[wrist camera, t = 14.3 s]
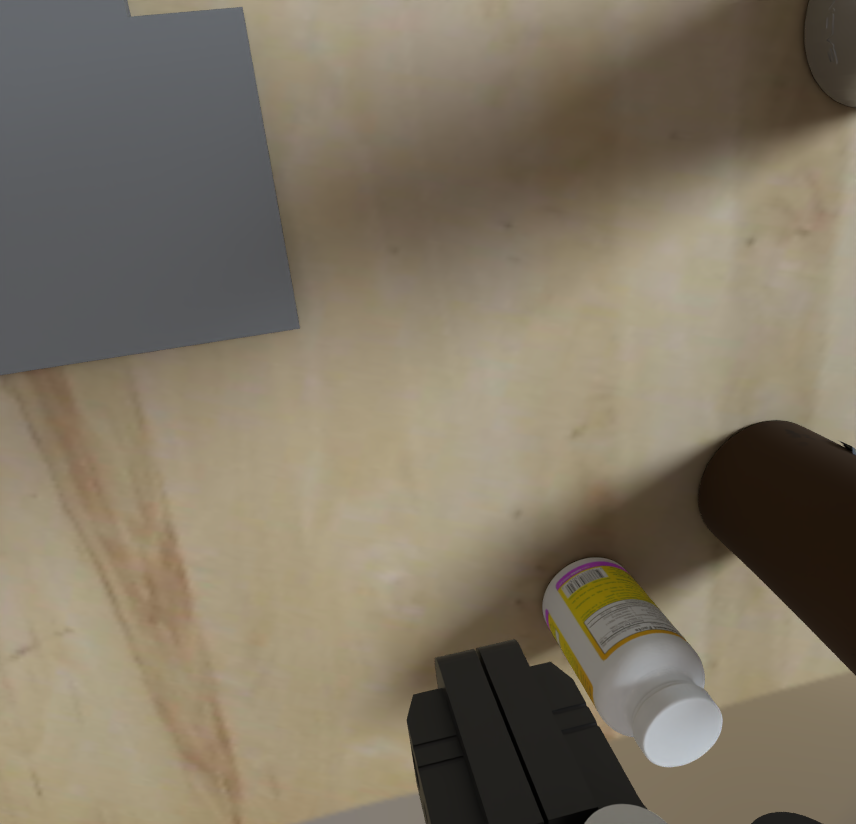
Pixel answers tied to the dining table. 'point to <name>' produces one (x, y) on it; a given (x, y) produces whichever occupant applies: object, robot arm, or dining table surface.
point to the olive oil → (791, 522)
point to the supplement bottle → (632, 661)
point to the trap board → (132, 185)
